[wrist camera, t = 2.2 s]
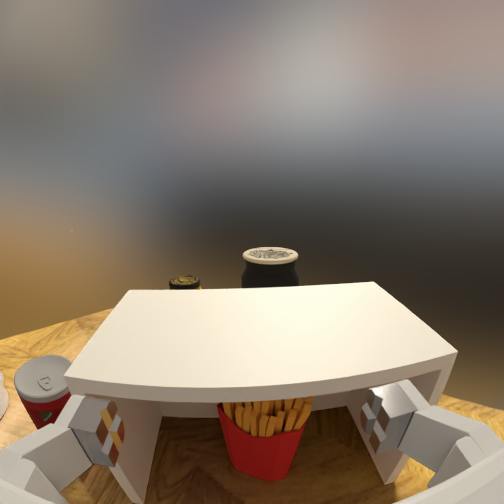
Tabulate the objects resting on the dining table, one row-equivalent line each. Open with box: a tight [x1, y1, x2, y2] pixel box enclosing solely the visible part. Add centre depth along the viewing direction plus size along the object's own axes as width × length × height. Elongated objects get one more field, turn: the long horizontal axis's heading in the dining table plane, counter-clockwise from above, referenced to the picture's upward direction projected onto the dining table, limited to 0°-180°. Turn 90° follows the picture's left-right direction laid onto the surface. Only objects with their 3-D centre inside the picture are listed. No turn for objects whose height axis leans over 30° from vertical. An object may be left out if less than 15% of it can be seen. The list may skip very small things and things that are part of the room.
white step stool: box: [64, 282, 458, 504], centre depth 25 cm, size 26×15×17 cm, turn 94°
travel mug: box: [242, 247, 299, 289], centre depth 43 cm, size 8×8×18 cm
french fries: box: [217, 396, 314, 481], centre depth 24 cm, size 8×4×12 cm, turn 65°
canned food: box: [14, 355, 72, 430], centre depth 23 cm, size 8×8×11 cm
